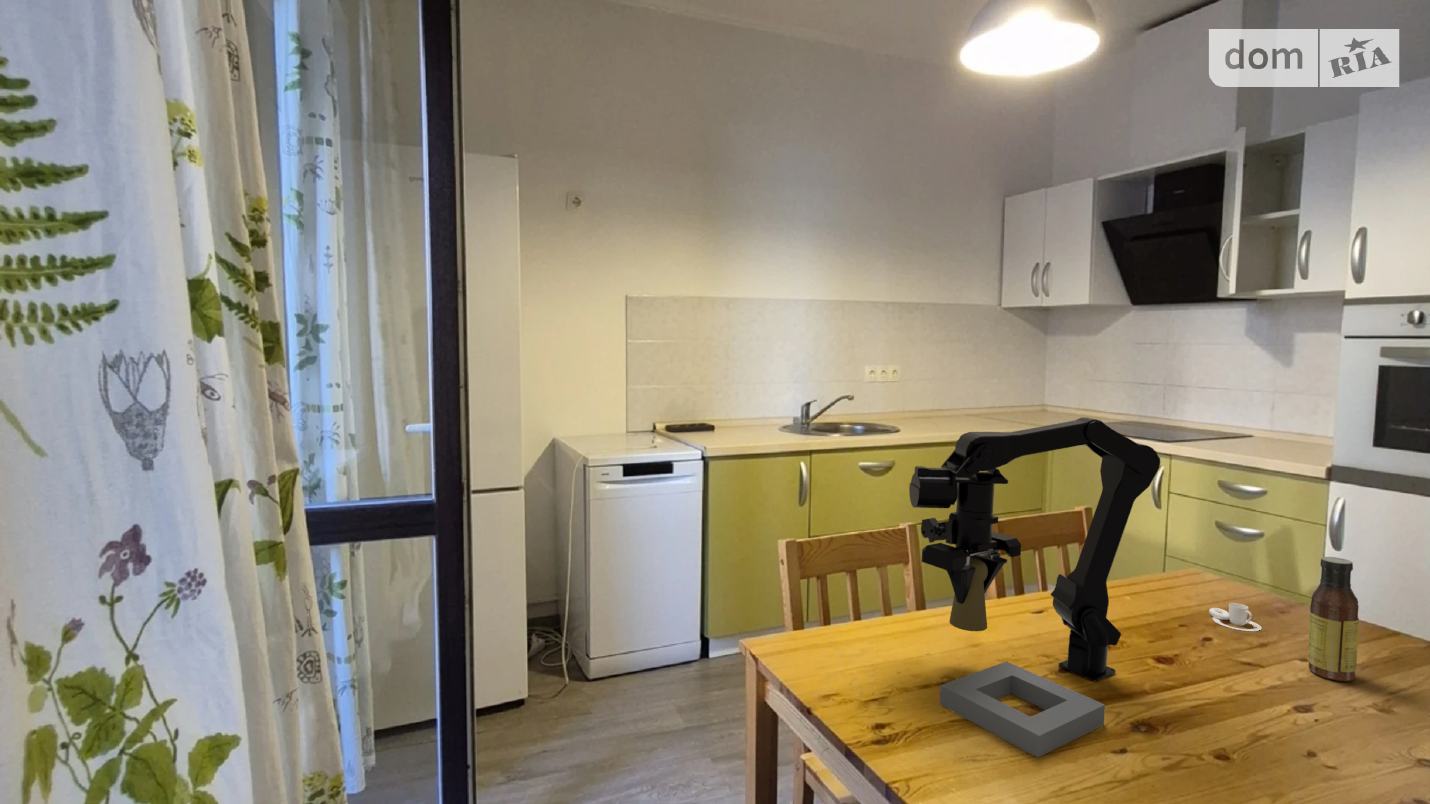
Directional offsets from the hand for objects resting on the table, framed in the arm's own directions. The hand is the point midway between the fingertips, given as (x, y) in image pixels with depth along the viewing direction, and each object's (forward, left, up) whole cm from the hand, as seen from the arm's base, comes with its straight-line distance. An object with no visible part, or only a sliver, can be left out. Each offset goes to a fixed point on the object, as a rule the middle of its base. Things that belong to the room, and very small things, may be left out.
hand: (969, 600), depth 118 cm
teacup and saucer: (-67, +14, -12) cm, 70 cm away
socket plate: (+6, +14, -12) cm, 19 cm away
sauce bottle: (-52, +33, -12) cm, 63 cm away
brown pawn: (0, 0, -4) cm, 4 cm away
